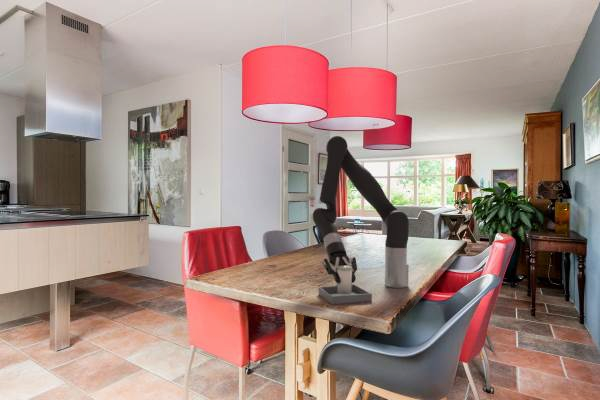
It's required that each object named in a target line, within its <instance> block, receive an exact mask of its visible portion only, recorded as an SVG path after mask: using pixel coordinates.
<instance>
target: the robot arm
mask: <svg viewBox="0 0 600 400" xmlns="http://www.w3.org/2000/svg"><path fill="white" fill-rule="evenodd" d="M325 150H326V153H327V160H326V166H325V173H324V177H323V180H322V184H321V189H320V193H319V194H320V195H319V202H321V203H322V204H324V205H326V206H325V207H326V208H322V207H317V208H315V209H314V210H313V212H312V221H313V223H314V224H315V226H316V228H317V229H318V231H319V232H320V233H321V236H322V237H321V238H322V240H323V243H324V248H325V251H326V253H327V257H328V259H327V258H324V259H323V262H322V264H323V267H324V269H325V272H326V273H327V274H328V275H332V276H333V279H334V281H335V283H336V285H337V284H339V283H340V281H341V280H340V277H339V274H338V273H337V266H338V265H349V266H351V265H352V284H354V283H355V282H356V280H357V278H356V277H357V276H356V274H355V273H356V272H357V271H358V264H357V260H356V257H349V256H348V255H347V251H346V248H345V246H344V242H343V239H342V237H341V235H340V233H339V231H338V226H336V225H335V224H334V223H335V222H336V221H337V208H336V207H337V204H336V199H337V194H338V187H339V181H340V173H341V169H342V170H343V172H344V173H345V175H346V177H347V178H348V180H349V181H350V182H351V183H352V185H353V186H354V188H355V189H356V190H357V191H358V193H359V194H360V195H361V197H363V198H364V200H366V201H367V203H369V204H370V206H372V207H373V209H374V210H375V211H376V213H377V214H378V215H379V217H380V219H382V221H383V224H384V225H385V226H386V237H385V238H386V239H385V242H384V244H385V245H384V247H385V248H384V249H385V251H384V252H385V253H384V265H385V266H384V286H386V287H389V288H395V289H403V288H406V287H409V271H410V270H409V264H408V260H407V258H408V253H407V252H408V243H409V232H410V230H409V226H410V224H409V223H410V222H409V221H410V220H409V218H408V216H407V214H406V213H405V212H404V211H400V210H398V208H397V207H395V206H394V204H393V203H392V202H391V201H390V200H389V199H388V197H387V195H386V194H385V192H384V190H383V188H382V186H381V185H380V184H379V182H378V180H377V179H376V178H375V177H374V176H373V174H372V173H371V172H370V171H369V170H368V169H367V168H366V167H365V166H363V165H362V164H361V163H359V162H358V161H357V160H356V158H355V157H354V156H353V155H352V153H351V152H350V150H349V149H348V142H347V139H345V138H344V137H343V136H341V135H335V136H332V137H331V138H330V139H329V140H328V141H327V143H326V148H325ZM348 261H349V262H350V264H349V262H348ZM331 265H332V266H331Z"/></svg>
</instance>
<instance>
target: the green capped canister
mask: <svg viewBox="0 0 600 400" xmlns="http://www.w3.org/2000/svg"><path fill="white" fill-rule="evenodd" d="M337 273H338V274H339V277H340V280H341V281H340V283H339V284H337V283H336V286H337V293H339V294H351V293H352V285H353V283H352V266H349V265H338V266H337Z"/></svg>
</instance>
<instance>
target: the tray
mask: <svg viewBox="0 0 600 400" xmlns="http://www.w3.org/2000/svg"><path fill="white" fill-rule="evenodd" d="M318 295H319V296H320V297H321V298H322V299H324V300H325V301H327V302H328V303H329V304H330V305H331V306H340V305H341V306H342V305H349V304H351V305H352V304H360V303H362V304H363V303H372V301H373V300H372V299H373V293H372V292H370V291H367V290H366V289H365V288H362V287H360V286H358V285H357V284H354V283H353V284H352V293H351V294H339V293H337V285H332V286H331V285H330V286H328V285H327V286H318Z"/></svg>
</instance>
